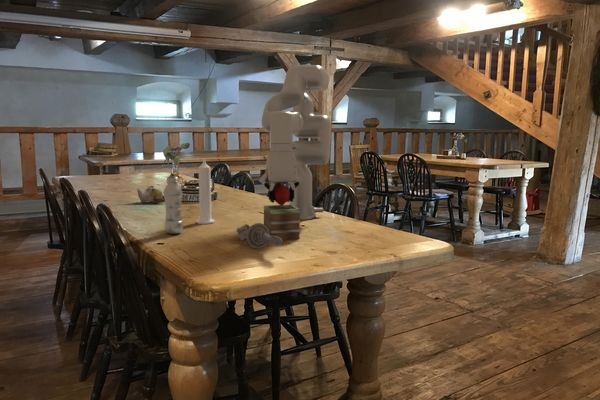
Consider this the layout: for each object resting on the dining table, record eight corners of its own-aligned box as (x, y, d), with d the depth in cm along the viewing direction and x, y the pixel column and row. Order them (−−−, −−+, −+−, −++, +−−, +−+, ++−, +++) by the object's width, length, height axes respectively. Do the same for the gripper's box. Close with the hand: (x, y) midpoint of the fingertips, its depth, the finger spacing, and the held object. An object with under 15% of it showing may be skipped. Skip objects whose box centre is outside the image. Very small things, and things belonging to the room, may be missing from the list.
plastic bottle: (167, 236, 171) (165, 178, 168) (162, 232, 177) (160, 176, 174) (185, 234, 174) (184, 177, 171) (181, 230, 180) (179, 175, 177)
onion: (283, 207, 166) (283, 183, 165) (269, 205, 169) (269, 182, 168) (293, 205, 171) (293, 182, 170) (279, 203, 174) (279, 180, 173)
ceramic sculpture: (139, 183, 245) (170, 185, 247) (139, 200, 246) (170, 202, 249) (135, 186, 235) (167, 188, 237) (135, 204, 236) (167, 206, 238)
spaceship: (265, 236, 137) (289, 222, 140) (223, 226, 168) (243, 215, 171) (276, 261, 139) (299, 247, 142) (233, 246, 170) (252, 235, 173)
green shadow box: (291, 232, 178) (291, 204, 176) (300, 239, 167) (300, 209, 166) (263, 234, 175) (263, 205, 173) (271, 241, 164) (271, 210, 163)
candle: (210, 224, 191) (209, 159, 187) (193, 223, 192) (191, 159, 189) (217, 221, 198) (216, 158, 194) (200, 220, 199) (199, 157, 195)
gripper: (302, 147, 173) (302, 198, 176) (253, 148, 168) (254, 201, 171) (309, 148, 166) (308, 202, 169) (258, 149, 161) (259, 204, 164)
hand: (281, 201), depth 170 cm, fingers closed on onion, 5 cm apart
